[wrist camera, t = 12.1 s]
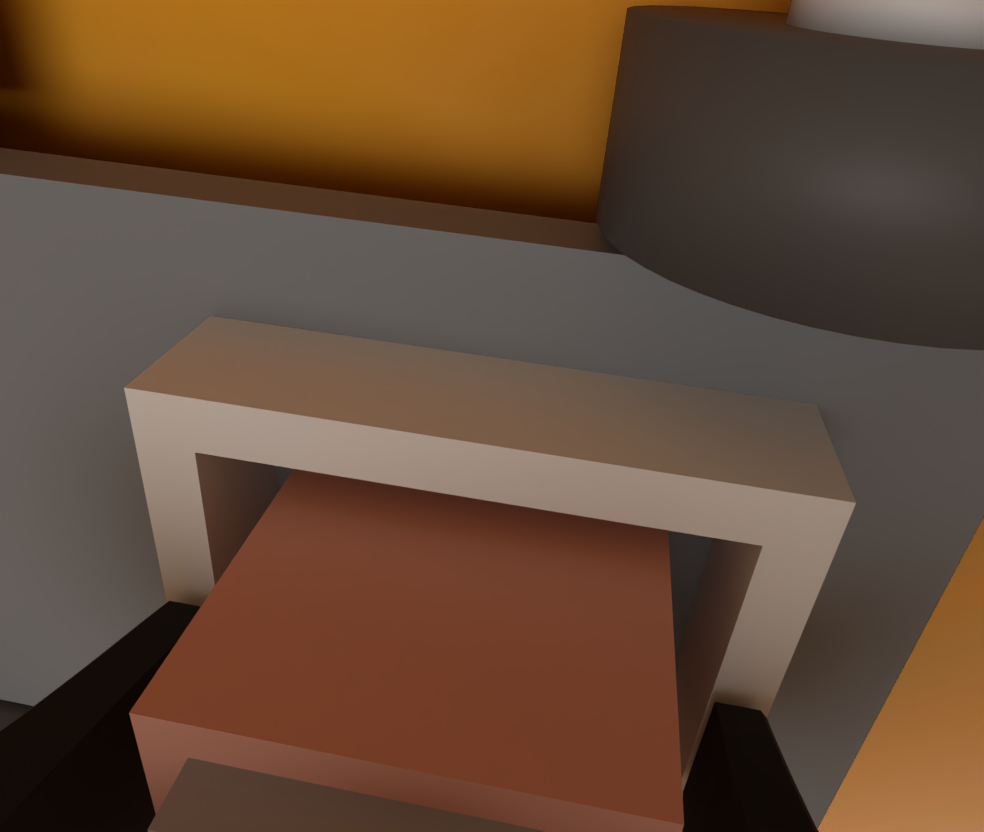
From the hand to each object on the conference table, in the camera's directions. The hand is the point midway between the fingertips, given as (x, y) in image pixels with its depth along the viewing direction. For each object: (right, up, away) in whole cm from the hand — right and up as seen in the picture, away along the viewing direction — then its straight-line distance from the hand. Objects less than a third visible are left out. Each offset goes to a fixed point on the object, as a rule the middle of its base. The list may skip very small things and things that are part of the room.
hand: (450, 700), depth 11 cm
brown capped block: (0, +2, +2) cm, 2 cm away
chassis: (-3, +4, +6) cm, 7 cm away
